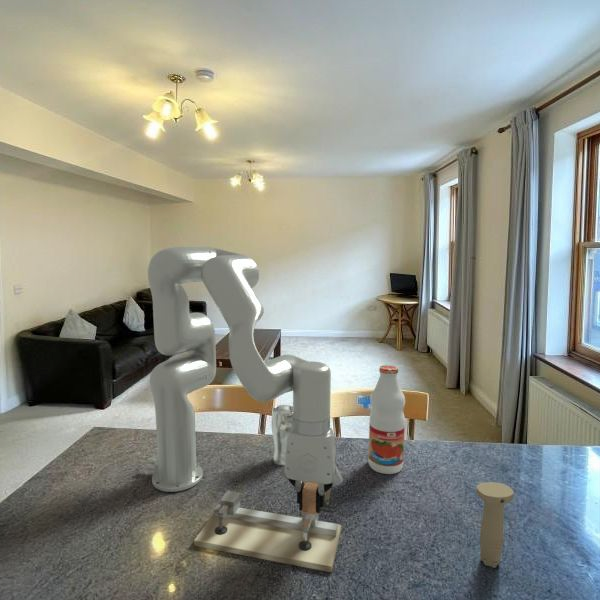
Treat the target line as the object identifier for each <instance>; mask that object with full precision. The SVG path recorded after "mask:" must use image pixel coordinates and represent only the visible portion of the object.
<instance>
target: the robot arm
mask: <svg viewBox="0 0 600 600" xmlns="http://www.w3.org/2000/svg"><path fill="white" fill-rule="evenodd" d="M147 280H148V286H149V288H150V292H151V293H150V294H151V297H152V311H153V312H152V317H153V334H154V335H153V336H154V343H155V348H156V350H157V352H159V353H160V354H161V355H163V356H176V355H180V354H183V353H187V354H186V355H182V356H177V357H175V358H171V359H168V360H165V361H163V362H161V363H159V364H157V365H156V366H155V367H154V368H153V369H152V370H151V371H150V375H149V385H150V389H151V393H152V397H153V403H154V411H155V426H156V429H155V430H156V448H157V450H156V452H157V457H148V458H147V461H146V465H145V469H146V470H149V471H153V472H154V474H153V475H152V477H151V483H152V486H153V487H154V488H155V489H157V490H159V491H161V492H166V493H168V492H169V493H173V492H181V491H185V490H188V489H190V488H192V487H195V486H197V484H199V483H200V482H201V481H202V478H203V476H204V475H203V474H204V473H203V468H202V467H201V466H200V465H199V464H197V442H196V441H197V440H196V439H197V436H196V435H197V434H196V412H195V408H194V406H193V404H192V402H191V401H190V399H188V398H189V397H188V395H189V394H190V393H193V392H195V391H197V390H200V389H203V388H205V387H207V386H209V385H210V384H212V382H213V381H214V380H215V377H216V374H217V373H216V372H217V352H216V350H217V349H216V344H217V343H216V330H215V327H214V324H213V322H212V320H211V319H210V318H209V317H208V316H207V314H204V313H202V312H190V300H189V296H188V294H187V292H186V290H185V288H184V287H183V285H182V284H189V283H200V282H203V285H204V286H205V288H206V290H207V291H208V293H209V295H210V296H211V298H212V300H213V301H214V304H215V305H216V308H217V309H218V311H219V312H220V314H221V316H222V317H223V319H224V321H225V323H226V324H227V326H228V329H229V333H228V342H227V343H228V344H227V345H228V356H229V361H230V364H231V367H232V369H233V371H234V374H235V375H236V376H237V378H238V380H239V382H240V383H241V385H242V386H243V387H242V388H244V390H245V391H246V393H247V394H248V395H249V396H250V397H251V398H253V399H254V400H255V401H258V402H261V403H267V402H272V401H273V400H275V399H277V398H279V397H281V396H282V395H284V394H287V393H289V392H292V406H293V414H292V415H290V416H289V415H287V417H286V422H290V423H291V424H292V427H291V428H290V429H289V432H288V437H287V444H286V454H285V465H283V467H282V468H281V470H280V473H279V474H280V476H281V477H283V478H285V479H286V480H288V482H289V483H290V484H291V485H292V486H293V487H294V490H295V492H296V504H299V505H298V509H299V511H300V512H301V511H302V489H303V487H304V485H305V482H312V483H318V492H317V494H316V512H317V513H319V514H320V513H321V509H322V508H325V507H324V504H325V492H326V491H328V490H329V489H330V488H333V487H336V486H340V485H341V484H342V483H343V481H344V480H343V476H342V474H341V472H340V469H339V468H338V467H337V466H336V463H337V449H336V448H337V447H336V440H335V434H334V430H333V428H331V393H332V392H331V388H332V386H331V382H332V381H331V380H332V376H331V369H330V367H329V365H328V364H326V363H323V362H320V361H308V360H306V359H302V358H301V357H298V356H296V355H292V354H282V355H279V356H276V357H275V358H274V357H273V358H271V359H268V360H266V361H264V359H263V358H262V356H261V354H260V352H259V351H258V348H257V346H256V344H255V338H254V337H255V336H254V334H255V333H254V331H255V327H256V325H257V323H258V322H259V321H260V320H261V319H262V317H263V316H264V312H265V311H264V309H265V308H264V306H263V304H262V303H261V301H260V300H259V298H258V297H257V295H256V294H255V291H254V288H255V286H256V285H257V284H258V282H259V281H260V269H259V267H258V265H257V263H256V261H254V260H253V258H251V257H249V256H248V255H246V254H242V253H237V252H232V251H229V250H224V249H220V248H216V247H209V246H207V247H206V246H203V247H202V246H195V247H194V246H176V247H175V246H174V247H168V248H167V247H166V248H163V249H161V250H159V251H158V252H156V253H155V254H154V255H153V256H152V257H151V258H150V260H149V264H148V268H147Z"/></svg>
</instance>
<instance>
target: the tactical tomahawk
mask: <svg viewBox="0 0 600 600" xmlns="http://www.w3.org/2000/svg"><path fill="white" fill-rule="evenodd" d="M336 466H337V468H338V466H339V465H338V463H337V462H336ZM332 488H333V487H332ZM332 488H330V489H329V490H328V491H326V492H325V504H324V507H323V508H321V510H320V512H321V511H322V512H324V513H325V512H326V513H331V514H332V513H333V514H334V513H335V510H330V509H326V508H332V509H335V508H336V506H331V504H332V503H331V502H330V496H331V494H332V493H331V492H332Z"/></svg>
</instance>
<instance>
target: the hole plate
mask: <svg viewBox="0 0 600 600" xmlns="http://www.w3.org/2000/svg"><path fill="white" fill-rule="evenodd" d="M240 506H241V492H237V491H231V490H227V491H226V492H225V493H224V495H223V496H222V498H221V499H220V503H217V505H216V506H215V507H214V509H213V513H212V515H211V516H210V518H209V519H208V520H207V521H206V523H205V525H204V526H203V528H201V530H200V532H199V533H198V534H197V536H196V537H195V538H194V543H193V544H194V546H195V547H200V548H205V549H210V550H215V551H219V552H224V553H231V554H236V555H240V556H241V555H242V556H246V557H252V558H255V559H260V560H261V559H262V560H267V561H272V562H275V563H276V562H277V563H281V564H286V565H292V566H297V567H301V568H307V569H311V570H317V571H322V572H326V573H327V572H328V573H333V568H334V564H335V559H336V554H337V550H338V545H339V542H340V541H339V540H340V536H341V532H342V524H338V523H333V522H328V521H322V520H318V522H317V525H316V528H309V531H308V532H307V545H304V544H303V532H304V531H302V517H299V516H292V515H285V514H280V513H275V512H274V513H273V512H268V511H261V510H257V509H256V510H255V509H249V508H245V507H243V508H242V507H240Z"/></svg>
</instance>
